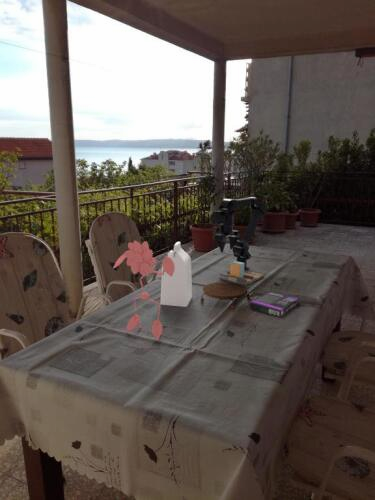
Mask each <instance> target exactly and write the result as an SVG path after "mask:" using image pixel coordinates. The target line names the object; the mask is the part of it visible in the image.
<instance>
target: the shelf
mask: <svg viewBox="0 0 375 500" xmlns="http://www.w3.org/2000/svg"><path fill="white" fill-rule="evenodd" d="M263 276H265V275H264V274H262V273H257V272H254V271H249V270H246V269H245V270H244V278H240V277H236V276H232V275H230V270H228V269H227V270H226V273H222V272H220V273H219V279H220V280H223V281H226V282H227V281H228V282H230V283H231V282H232V283H235V284H239V285H242V286H248V285H250V284H252V282H253V283H254V281H255V282H256V280H257V281H259V280H261V279H263V278H264V277H263ZM262 277H263V278H262ZM260 278H261V279H260ZM258 279H259V280H258Z"/></svg>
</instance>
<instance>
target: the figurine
mask: <svg viewBox="0 0 375 500" xmlns="http://www.w3.org/2000/svg"><path fill="white" fill-rule="evenodd" d="M127 247H128V250H126V251H124V253H123V254H122V255H120V257H118V259H117V260H116V261H115V264H114V265H113V269H116V268H117V267H118V266H120V265H121V264H122V263H123V262H124V261H125V259H127V260H126V265H127V266H128V267H130V270H131V272H132V274H133V275H137V274H138V273H140V275H141V277H139V282H140V285H141V289H142V293H141V295H140V296H138V297H135V298H134V299H133V300H134V301H133V303H134V305H133V306H134V315H133V316H132V317H130V319H129V320H128V323H126V325H127V328H126V333H129V332H131V331H133V330H134V329H135V328H136V327H137V326H139V328H140V329H142V325H141V323H140V316H139V315H138V314H137V310H136V300H137V299H142V300H143V301H151V302H153V303H155V304H157V305H159V307H158V314H157V319H156V320H154V322H153V324H152V326H151V332H152V334H153V337H154V338H155V339H156V340H157V341H158V340H159V338H160V337H161V336H162V334H163V324H162V322H161V321H160V320H159V319H160V314H161V313H160V312H161V308H162V307H161V306H162V305H161V304H160V303H159V302H157V301H155V300H153V299H151V298H150V295H149V293H147V292H145V289H144V285H143V281H142V280H143V278H144V277H146V276H147V274H152V273H155V274H158V275H161V276H162V275H164V272H166V273H167V274H168V275H170V276H171V277H172V275H173V273H174V270H175V266H174V262H173V261H172V260H171V258H169V257H168V255H165V256H164V258H163V259H162V263H163V264H161V266H162V265H163V273H162V272H160V271H156V270H153V266H155V265H156V264H157V263H158V261H157V259H156V258H154V257H153V255H154V253H153V250H152V249H150V247H149V243H148V242H147V241H143V242H142V243H140V242H139V241H137V240H133V242H128V244H127ZM119 342H120V344H122V345H123V346H126V347H127V348H130V349H131V348H132V349H135V347H134V346H129V345H126V344H124V343H122V342H121V341H119ZM157 348H160V347H159V346H158V347H156V349H157ZM136 349H140V350H147V348H142V347H141V348H140V347H136ZM151 349H154V347H152V348H151V347H150V348H148V350H151Z"/></svg>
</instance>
